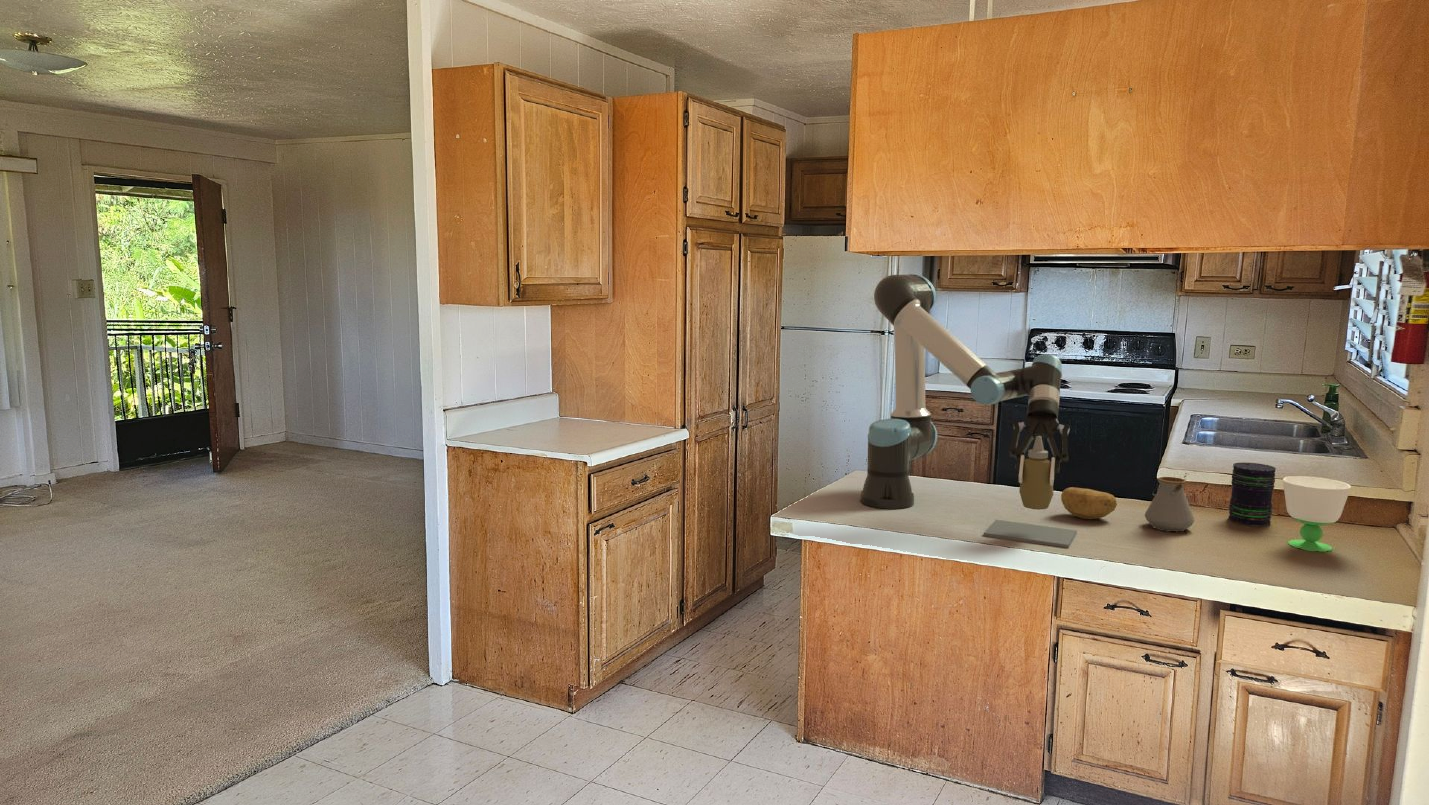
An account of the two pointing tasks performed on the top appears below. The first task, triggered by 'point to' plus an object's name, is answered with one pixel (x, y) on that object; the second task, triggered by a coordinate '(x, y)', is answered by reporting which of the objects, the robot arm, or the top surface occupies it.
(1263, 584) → the top surface
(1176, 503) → the coffee pot
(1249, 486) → the storage jar
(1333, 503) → the cup
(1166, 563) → the top surface
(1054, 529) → the rubber mat
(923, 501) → the top surface
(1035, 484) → the squeeze bottle
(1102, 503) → the potato
